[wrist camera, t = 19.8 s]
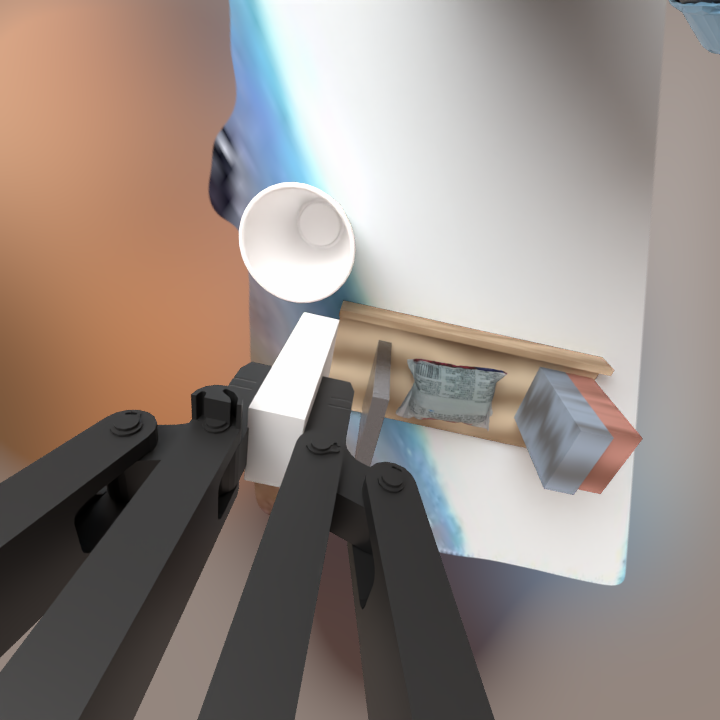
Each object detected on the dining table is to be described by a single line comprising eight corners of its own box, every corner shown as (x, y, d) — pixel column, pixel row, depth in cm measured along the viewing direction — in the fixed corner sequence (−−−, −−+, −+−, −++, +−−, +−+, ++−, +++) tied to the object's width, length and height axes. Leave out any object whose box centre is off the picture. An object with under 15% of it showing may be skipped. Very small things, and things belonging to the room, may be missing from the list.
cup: (382, 240, 41) (377, 269, 32) (309, 284, 45) (285, 322, 35) (332, 152, 38) (310, 154, 28) (257, 207, 41) (213, 225, 31)
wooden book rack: (343, 300, 45) (324, 351, 34) (602, 357, 46) (668, 426, 34) (324, 399, 53) (304, 469, 41) (547, 448, 53) (587, 529, 42)
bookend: (378, 339, 46) (372, 396, 35) (391, 342, 46) (389, 400, 35) (362, 404, 51) (352, 471, 40) (374, 407, 51) (367, 474, 40)
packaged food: (483, 418, 50) (491, 443, 46) (394, 405, 50) (395, 429, 46) (503, 361, 46) (515, 383, 42) (407, 347, 46) (408, 367, 42)
